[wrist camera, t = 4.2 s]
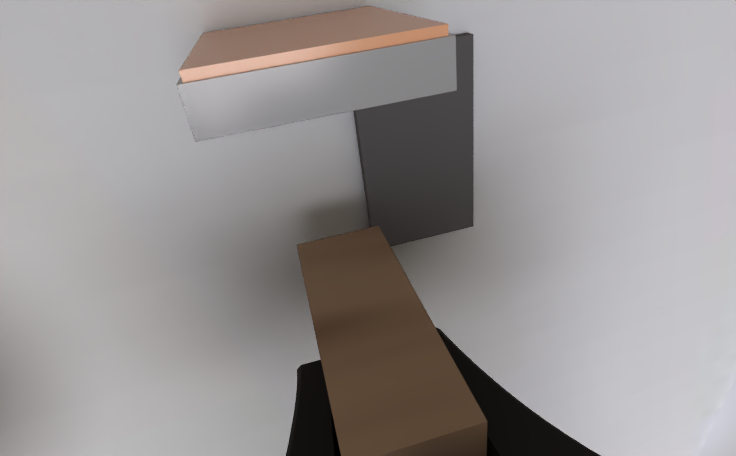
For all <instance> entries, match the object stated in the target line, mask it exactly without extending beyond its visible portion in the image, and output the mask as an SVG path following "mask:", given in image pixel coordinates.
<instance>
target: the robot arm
mask: <svg viewBox="0 0 736 456" xmlns="http://www.w3.org/2000/svg"><path fill="white" fill-rule="evenodd" d="M436 330H437V332H438V333H439V335H440V337H441V339H442V341H443V342H444V344H445V346H446V348H447V350H448V351H449V353H450V355H451V357H452V359H453V360H454V362H455V364H456V366H457V368H458V369H459V371H460V373H461V375H462V377H463V378H464V380H465V382H466V384H467V386H468V387H469V389H470V391H471V393H472V394H473V396H474V398H475V400H476V402H477V403H478V405H479V407H480V409H481V411H482V412H483V414H484V416H485V418H486V420H487V456H600V455H599V454H597V453H595V452H593V451H592V450H590V449H588V448H587V447H585V446H584V445H582V444H580V443H579V442H577V441H576V440H574V439H573V438H571V437H569V436H568V435H566V434H565V433H563V432H562V431H560V430H559V429H557V428H556V427H554V426H553V425H551V424H550V423H549V422H547V421H546V420H544V419H543V418H541V417H540V416H539V415H537V414H536V413H535V412H533V411H532V410H531V409H529V408H528V407H527V406H525V405H524V404H523V403H521V402H520V401H519V400H517V399H516V398H515V397H514V396H512V395H511V394H510V393H509V392H507V391H506V390H505V389H504V388H502V387H501V386H500V385H499V384H498V383H497V382H495V381H494V380H493V379H492V378H491V377H490V376H488V375H487V374H486V373H485V372H484V371H483V370H481V369H480V368H479V367H478V366H477V365H476V364H475V363H474V362H473V361H472V360H470V359H469V358H468V357H467V356H466V355H465V354H464V353H463V352H462V351H461V350H460V349H459V348H458V347H457V346H456V345H455V344H454V343H453V342H452V341H451V340H450V339H449V338H448V337H447V336H446V335H445V334H444V333H443V332H442V331H441V330H440V329H438V328H436ZM286 456H341V453H340V448H339V443H338V439H337V434H336V429H335V424H334V420H333V415H332V410H331V405H330V401H329V396H328V391H327V386H326V382H325V377H324V372H323V367H322V363H321V360H318V361H314V362H311V363H307V364H304V365H301V366H300V367H299V368H298V369H297V393H296V402H295V410H294V417H293V422H292V428H291V433H290V439H289V444H288V449H287V453H286Z"/></svg>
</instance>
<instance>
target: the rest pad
mask: <svg viewBox="0 0 736 456" xmlns="http://www.w3.org/2000/svg"><path fill="white" fill-rule="evenodd" d="M456 77H457V90H456V91H451V92H446V93H441V94H436V95H431V96H425V97H420V98H415V99H410V100H405V101H400V102H395V103H390V104H385V105H380V106H375V107H370V108H365V109H360V110H355V111H354V117H355V124H356V131H357V138H358V145H359V152H360V159H361V167H362V174H363V181H364V188H365V195H366V202H367V209H368V216H369V223H370V227H374V226H379V227H380V229H381V231H382V233H383V235H384V236H385V238H386V240H387V242H388V244H389V245H390V246H394V245H398V244H403V243H407V242H411V241H415V240H419V239H423V238H427V237H431V236H435V235H439V234H443V233H447V232H451V231H455V230H460V229H464V228H468V227H472V226H473V34H470V33H464V34H458V35H456Z"/></svg>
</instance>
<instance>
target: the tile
mask: <svg viewBox="0 0 736 456" xmlns="http://www.w3.org/2000/svg"><path fill="white" fill-rule="evenodd" d="M179 73H180V76H181V78H180V79H179V81H178V83H177V84H176V86H177V89H178V92H179V95H180V98H181V101H182V104H183V107H184V110H185V113H186V116H187V119H188V121H189V124H190V127H191V130H192V133H193V136H194V139H195V142H198V141H203V140H208V139H213V138H218V137H223V136H228V135H233V134H238V133H243V132H248V131H253V130H258V129H263V128H268V127H273V126H279V125H284V124H289V123H294V122H299V121H304V120H309V119H314V118H319V117H324V116H329V115H334V114H339V113H344V112H349V111H355V110H360V109H365V108H370V107H375V106H380V105H385V104H390V103H395V102H400V101H405V100H410V99H415V98H420V97H425V96H431V95H436V94H441V93H446V92H451V91H456V90H457V77H456V35H452V34H449V33H448V24H446V23H442V22H437V21H433V20H429V19H424V18H420V17H416V16H411V15H407V14H403V13H398V12H394V11H390V10H385V9H381V8H377V7H372V6H366V7H360V8H354V9H348V10H341V11H335V12H329V13H323V14H317V15H311V16H304V17H298V18H292V19H286V20H280V21H274V22H267V23H261V24H255V25H249V26H243V27H237V28H231V29H224V30H218V31H212V32H206V33H203V34H202V35H201V37H200V38H199V40H198V41H197V43H196V45H195V46H194V48H193V49H192V51H191V52H190V54H189V56H188V57H187V59H186V60H185V62H184V63H183V65H182V66H181V68H180V70H179Z"/></svg>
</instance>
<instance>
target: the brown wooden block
mask: <svg viewBox="0 0 736 456" xmlns="http://www.w3.org/2000/svg"><path fill="white" fill-rule="evenodd" d="M297 249H298V253H299V258H300V263H301V268H302V272H303V277H304V282H305V287H306V291H307V296H308V301H309V306H310V310H311V315H312V320H313V325H314V329H315V334H316V339H317V344H318V348H319V353H320V358H321V363H322V367H323V372H324V377H325V382H326V386H327V391H328V396H329V401H330V405H331V410H332V415H333V420H334V424H335V429H336V434H337V439H338V443H339V448H340V453H341V456H487V420H486V418H485V416H484V414H483V412H482V411H481V409H480V407H479V405H478V403H477V402H476V400H475V398H474V396H473V394H472V393H471V391H470V389H469V387H468V386H467V384H466V382H465V380H464V378H463V377H462V375H461V373H460V371H459V369H458V368H457V366H456V364H455V362H454V360H453V359H452V357H451V355H450V353H449V351H448V350H447V348H446V346H445V344H444V342H443V341H442V339H441V337H440V335H439V333H438V332H437V330H436V328H435V326H434V324H433V323H432V321H431V319H430V317H429V315H428V314H427V312H426V310H425V308H424V306H423V305H422V303H421V301H420V299H419V297H418V296H417V294H416V292H415V290H414V288H413V287H412V285H411V283H410V281H409V280H408V278H407V276H406V274H405V272H404V271H403V269H402V267H401V265H400V263H399V262H398V260H397V258H396V256H395V254H394V253H393V251H392V249H391V247H390V245H389V244H388V242H387V240H386V238H385V236H384V235H383V233H382V231H381V229H380V227H379V226H374V227H370V228H366V229H361V230H357V231H353V232H349V233H345V234H340V235H336V236H332V237H328V238H323V239H319V240H315V241H311V242H307V243H302V244H298V245H297Z"/></svg>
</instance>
